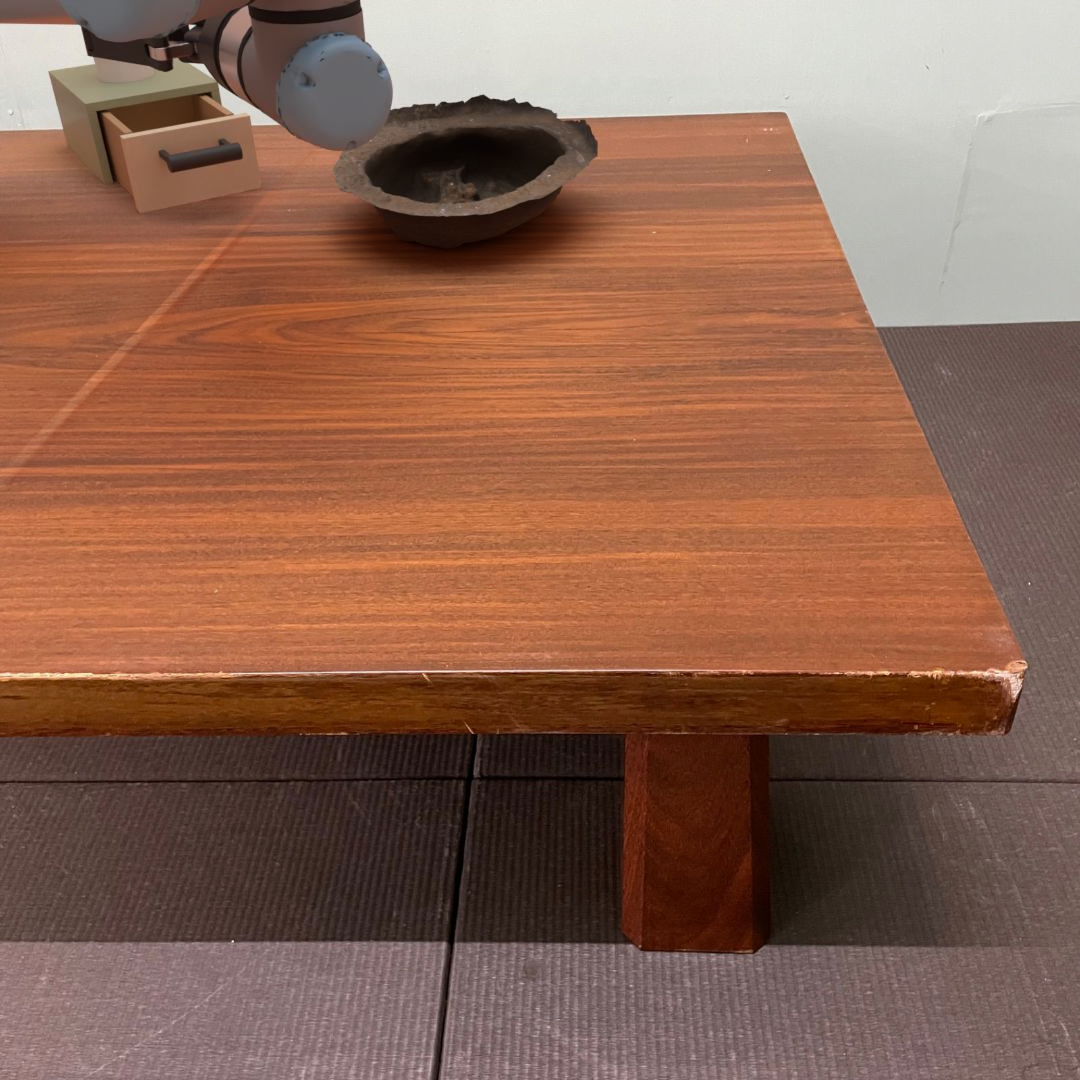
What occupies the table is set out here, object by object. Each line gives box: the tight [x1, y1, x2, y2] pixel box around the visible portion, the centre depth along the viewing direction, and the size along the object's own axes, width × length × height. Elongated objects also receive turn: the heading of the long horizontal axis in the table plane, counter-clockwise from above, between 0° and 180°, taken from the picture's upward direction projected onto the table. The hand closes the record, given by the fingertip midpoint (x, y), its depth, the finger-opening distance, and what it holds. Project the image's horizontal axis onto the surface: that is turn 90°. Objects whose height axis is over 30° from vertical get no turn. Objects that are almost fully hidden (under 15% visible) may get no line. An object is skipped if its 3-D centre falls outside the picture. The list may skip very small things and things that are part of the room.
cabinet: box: [47, 58, 223, 186], centre depth 128 cm, size 16×14×10 cm
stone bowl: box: [332, 94, 599, 249], centre depth 112 cm, size 25×25×9 cm
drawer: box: [96, 93, 263, 214], centre depth 118 cm, size 19×13×8 cm, turn 32°
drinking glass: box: [92, 57, 154, 83], centre depth 122 cm, size 7×7×10 cm
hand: (177, 6), depth 103 cm, fingers open, 13 cm apart
